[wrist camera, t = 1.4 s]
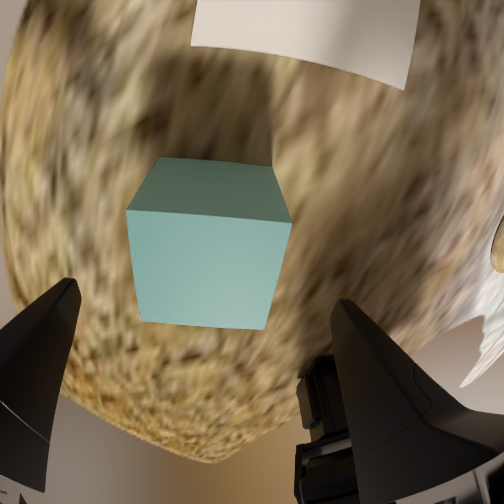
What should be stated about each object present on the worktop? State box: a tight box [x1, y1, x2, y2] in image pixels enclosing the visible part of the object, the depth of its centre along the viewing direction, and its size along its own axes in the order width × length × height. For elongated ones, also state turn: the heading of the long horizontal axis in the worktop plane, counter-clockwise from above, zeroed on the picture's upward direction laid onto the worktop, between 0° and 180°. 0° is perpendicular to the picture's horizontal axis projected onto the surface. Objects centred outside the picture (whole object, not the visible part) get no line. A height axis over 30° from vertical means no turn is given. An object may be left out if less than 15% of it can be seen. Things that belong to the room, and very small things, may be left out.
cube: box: [126, 157, 292, 330], centre depth 12 cm, size 5×5×5 cm
